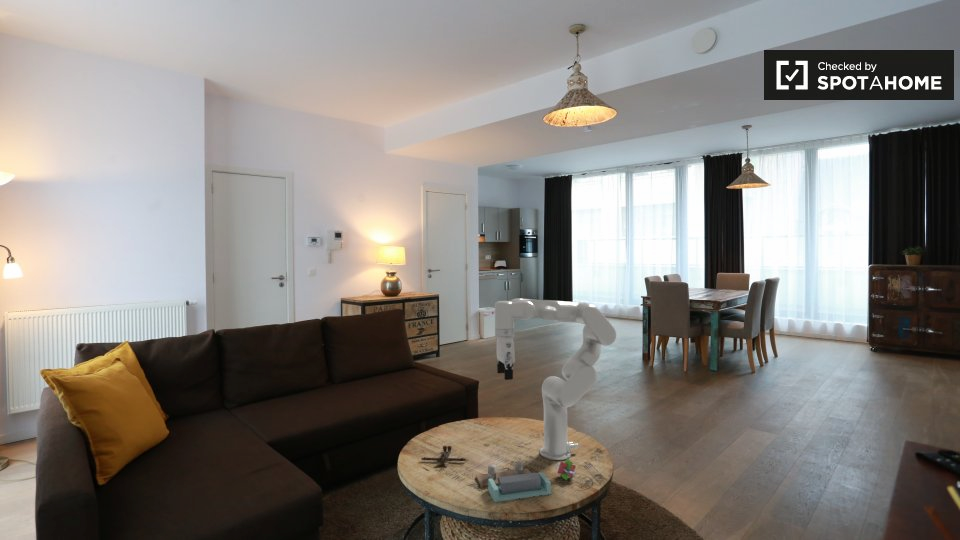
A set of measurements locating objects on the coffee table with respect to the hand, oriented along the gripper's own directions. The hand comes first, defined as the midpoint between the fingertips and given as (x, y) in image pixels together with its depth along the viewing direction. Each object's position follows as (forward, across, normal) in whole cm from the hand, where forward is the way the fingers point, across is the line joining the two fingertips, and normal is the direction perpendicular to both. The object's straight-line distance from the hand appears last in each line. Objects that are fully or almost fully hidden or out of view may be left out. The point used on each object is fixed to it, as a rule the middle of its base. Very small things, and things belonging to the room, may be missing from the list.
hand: (504, 376), depth 184 cm
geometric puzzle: (+34, -18, -18) cm, 43 cm away
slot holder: (+34, -23, +2) cm, 41 cm away
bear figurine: (+35, +9, +23) cm, 43 cm away
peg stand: (+34, -13, +4) cm, 37 cm away
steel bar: (+33, -23, +2) cm, 41 cm away
